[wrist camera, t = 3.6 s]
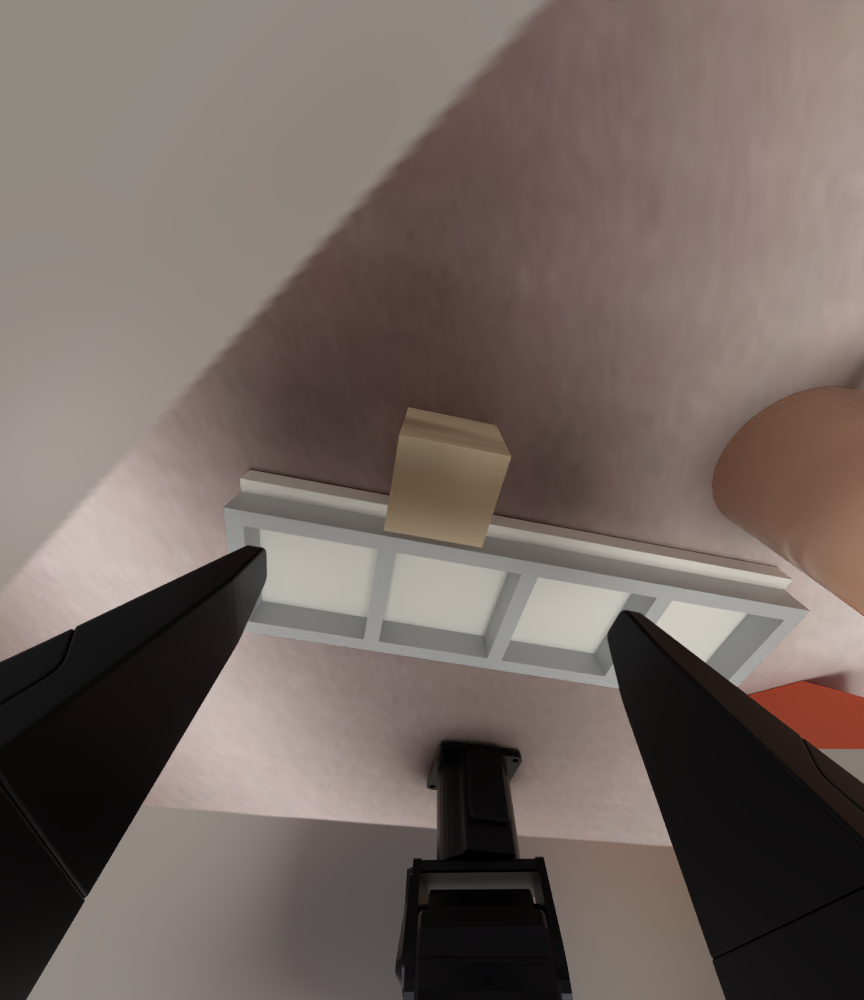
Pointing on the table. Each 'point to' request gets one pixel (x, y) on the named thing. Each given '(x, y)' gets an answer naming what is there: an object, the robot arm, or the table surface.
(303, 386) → the table surface
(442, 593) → the board
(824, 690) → the french fries container
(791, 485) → the terracotta mug
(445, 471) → the beech block
